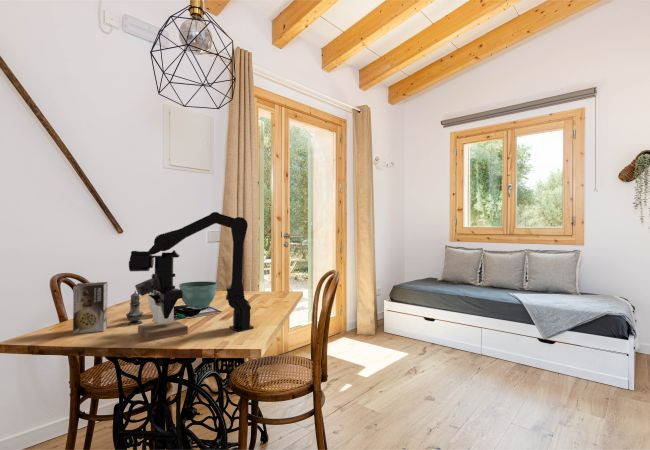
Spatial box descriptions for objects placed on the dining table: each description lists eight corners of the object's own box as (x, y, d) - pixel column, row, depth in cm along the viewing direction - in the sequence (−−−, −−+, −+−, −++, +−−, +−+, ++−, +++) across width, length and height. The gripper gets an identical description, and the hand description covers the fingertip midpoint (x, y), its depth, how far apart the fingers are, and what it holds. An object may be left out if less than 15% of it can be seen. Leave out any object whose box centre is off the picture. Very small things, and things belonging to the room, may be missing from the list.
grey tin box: (173, 321, 120) (173, 303, 120) (158, 324, 117) (158, 306, 117) (167, 319, 124) (168, 301, 124) (152, 321, 120) (153, 303, 120)
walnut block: (187, 335, 120) (187, 326, 120) (149, 342, 112) (150, 333, 112) (173, 328, 129) (174, 319, 129) (137, 334, 120) (138, 325, 121)
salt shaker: (135, 325, 129) (136, 292, 129) (121, 324, 130) (122, 291, 130) (147, 321, 135) (147, 290, 135) (133, 320, 136) (134, 289, 136)
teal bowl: (173, 307, 161) (173, 283, 161) (207, 302, 171) (208, 280, 171) (186, 313, 149) (187, 287, 149) (222, 308, 159) (223, 284, 159)
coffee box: (107, 326, 127) (108, 281, 128) (103, 331, 121) (104, 284, 122) (77, 329, 124) (78, 282, 124) (71, 334, 118) (73, 285, 118)
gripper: (129, 270, 122) (128, 315, 121) (148, 275, 108) (147, 327, 108) (163, 267, 129) (162, 310, 129) (184, 272, 116) (183, 320, 116)
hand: (163, 317), depth 120 cm, fingers closed on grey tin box, 5 cm apart
